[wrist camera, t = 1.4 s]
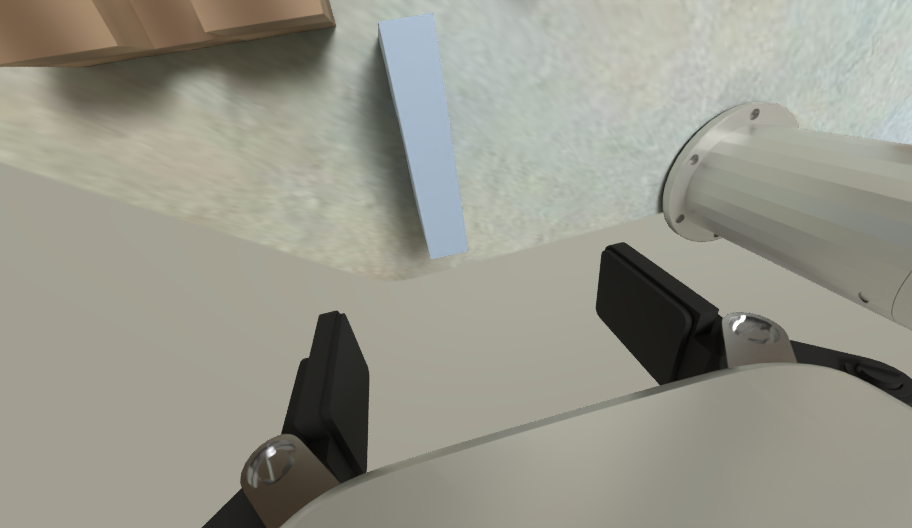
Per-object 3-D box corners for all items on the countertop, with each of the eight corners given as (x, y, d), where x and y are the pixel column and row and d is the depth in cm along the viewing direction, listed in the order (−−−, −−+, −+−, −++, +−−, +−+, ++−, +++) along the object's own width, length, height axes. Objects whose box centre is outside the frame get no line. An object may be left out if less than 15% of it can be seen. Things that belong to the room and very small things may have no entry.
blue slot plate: (378, 35, 20) (378, 21, 14) (416, 29, 21) (433, 13, 14) (418, 214, 27) (430, 259, 20) (447, 207, 27) (468, 250, 21)
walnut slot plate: (324, -17, 19) (306, -45, 14) (336, 26, 20) (323, 13, 15) (55, 22, 17) (-63, 6, 13) (83, 66, 18) (-15, 66, 14)
